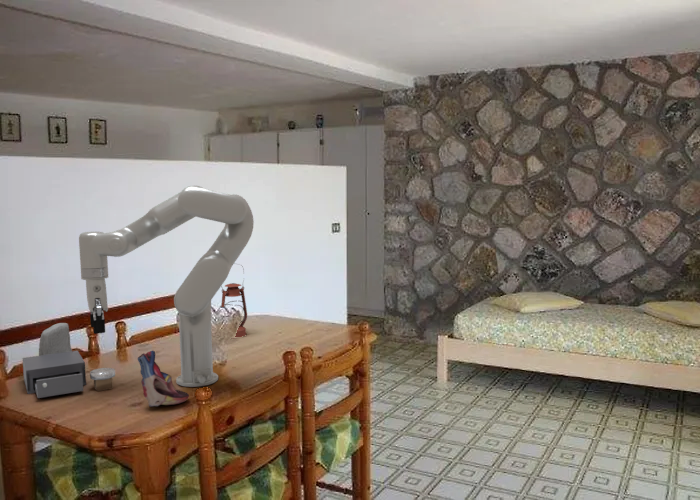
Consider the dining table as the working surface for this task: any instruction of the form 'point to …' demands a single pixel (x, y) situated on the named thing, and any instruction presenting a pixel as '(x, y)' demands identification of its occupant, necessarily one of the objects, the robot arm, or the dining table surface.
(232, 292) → the lantern
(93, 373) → the disc
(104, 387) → the tan cube
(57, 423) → the dining table surface
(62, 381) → the grey drawer
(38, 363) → the box
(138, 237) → the robot arm
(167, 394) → the anatomical model
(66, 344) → the decorative stone
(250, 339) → the dining table surface
